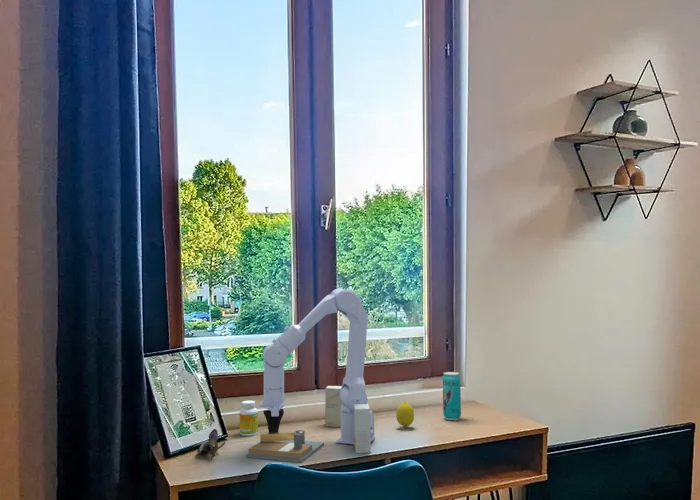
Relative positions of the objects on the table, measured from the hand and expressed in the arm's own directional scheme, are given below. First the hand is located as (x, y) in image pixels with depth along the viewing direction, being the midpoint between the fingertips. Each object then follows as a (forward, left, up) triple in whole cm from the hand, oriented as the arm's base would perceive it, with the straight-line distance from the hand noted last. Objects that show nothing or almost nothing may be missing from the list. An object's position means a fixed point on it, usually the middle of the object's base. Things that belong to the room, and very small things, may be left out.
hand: (273, 436), depth 172 cm
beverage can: (-42, -46, -4) cm, 63 cm away
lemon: (-30, -31, -4) cm, 44 cm away
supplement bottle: (+14, -11, -4) cm, 18 cm away
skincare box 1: (-8, -28, -4) cm, 30 cm away
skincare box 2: (-24, -6, -4) cm, 25 cm away
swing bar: (-3, 0, -2) cm, 4 cm away
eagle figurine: (+13, +11, -4) cm, 18 cm away
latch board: (-5, +1, -3) cm, 6 cm away
